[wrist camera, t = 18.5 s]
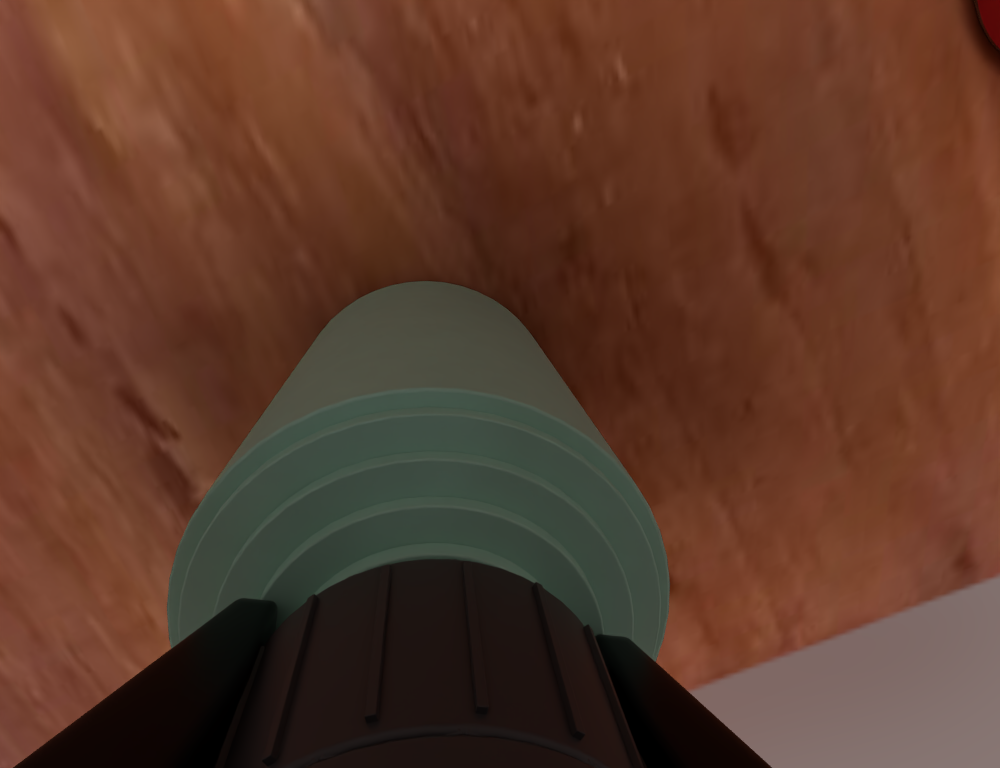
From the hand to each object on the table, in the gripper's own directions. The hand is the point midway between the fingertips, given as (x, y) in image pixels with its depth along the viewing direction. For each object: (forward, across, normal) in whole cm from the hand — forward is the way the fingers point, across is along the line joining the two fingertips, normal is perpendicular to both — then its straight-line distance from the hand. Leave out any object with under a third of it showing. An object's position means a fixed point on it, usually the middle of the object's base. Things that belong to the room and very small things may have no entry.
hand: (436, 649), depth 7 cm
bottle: (+9, 0, 0) cm, 9 cm away
